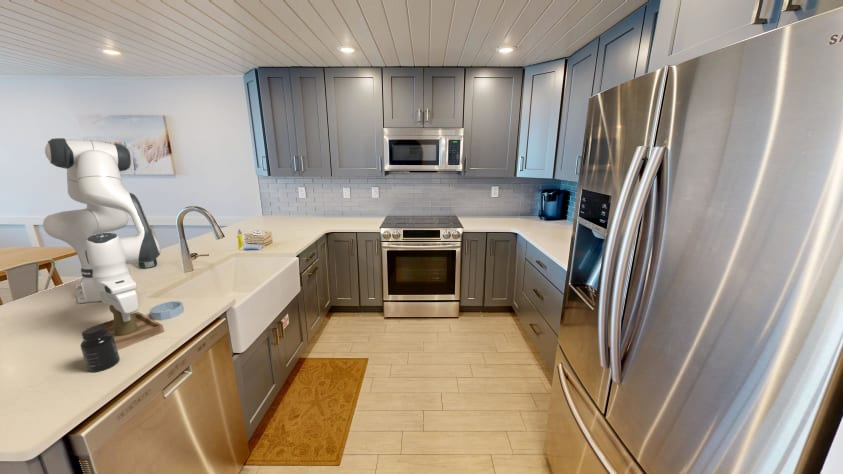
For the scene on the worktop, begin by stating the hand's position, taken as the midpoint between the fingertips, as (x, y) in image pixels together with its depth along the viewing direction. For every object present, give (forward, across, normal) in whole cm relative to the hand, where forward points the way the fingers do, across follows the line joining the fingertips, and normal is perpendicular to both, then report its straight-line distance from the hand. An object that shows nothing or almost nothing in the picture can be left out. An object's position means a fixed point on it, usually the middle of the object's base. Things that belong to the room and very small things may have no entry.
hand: (123, 318), depth 107 cm
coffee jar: (+6, -78, +35) cm, 86 cm away
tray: (+6, 0, 0) cm, 6 cm away
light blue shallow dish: (+6, -4, +14) cm, 16 cm away
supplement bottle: (+6, +17, -11) cm, 21 cm away
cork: (+5, 0, 0) cm, 5 cm away
